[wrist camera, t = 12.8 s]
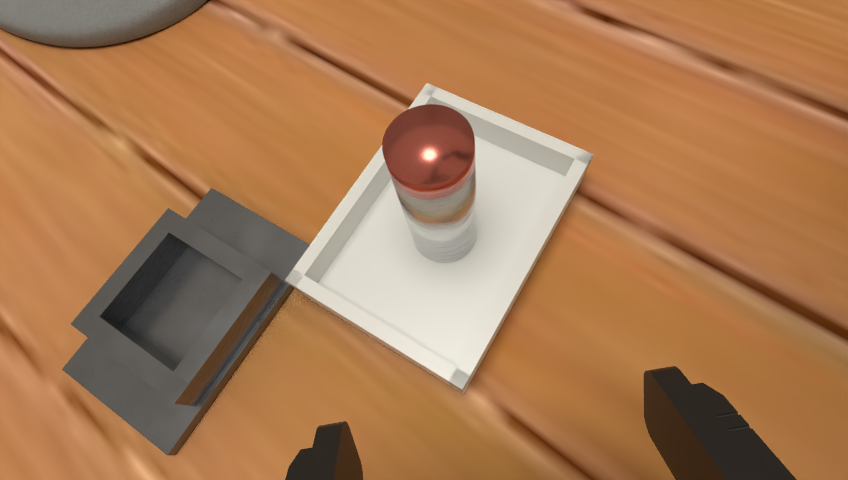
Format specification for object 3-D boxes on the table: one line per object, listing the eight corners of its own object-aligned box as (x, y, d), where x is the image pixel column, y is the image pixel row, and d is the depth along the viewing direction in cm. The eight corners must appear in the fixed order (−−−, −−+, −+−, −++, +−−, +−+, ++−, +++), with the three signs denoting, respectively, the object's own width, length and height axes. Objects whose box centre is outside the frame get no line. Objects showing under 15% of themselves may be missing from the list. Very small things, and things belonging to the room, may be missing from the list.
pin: (434, 193, 31) (414, 91, 22) (489, 221, 30) (492, 126, 21) (400, 243, 30) (364, 158, 21) (455, 274, 29) (442, 199, 20)
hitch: (217, 193, 34) (194, 171, 31) (319, 252, 31) (304, 234, 28) (72, 370, 30) (30, 364, 27) (175, 454, 27) (141, 456, 24)
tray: (430, 111, 34) (426, 83, 32) (582, 179, 31) (593, 154, 28) (302, 294, 30) (284, 280, 27) (463, 394, 27) (462, 389, 24)
